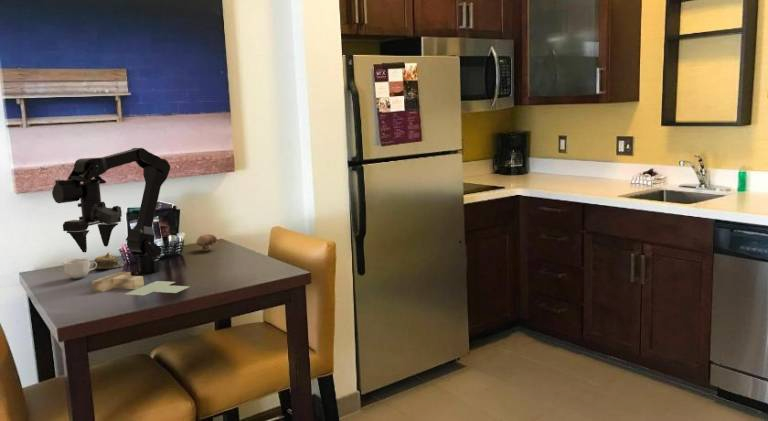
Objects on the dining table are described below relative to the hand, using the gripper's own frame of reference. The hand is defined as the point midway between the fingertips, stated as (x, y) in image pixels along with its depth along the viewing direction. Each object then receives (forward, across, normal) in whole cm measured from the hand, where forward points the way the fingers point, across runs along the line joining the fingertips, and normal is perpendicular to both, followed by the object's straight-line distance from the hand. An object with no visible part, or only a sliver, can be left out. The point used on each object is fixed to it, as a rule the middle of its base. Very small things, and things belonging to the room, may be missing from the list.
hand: (95, 249), depth 192 cm
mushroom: (+11, +51, -7) cm, 53 cm away
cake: (+12, +22, +15) cm, 29 cm away
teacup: (+12, +9, +14) cm, 20 cm away
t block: (+11, -1, -10) cm, 15 cm away
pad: (+11, -1, -24) cm, 26 cm away
